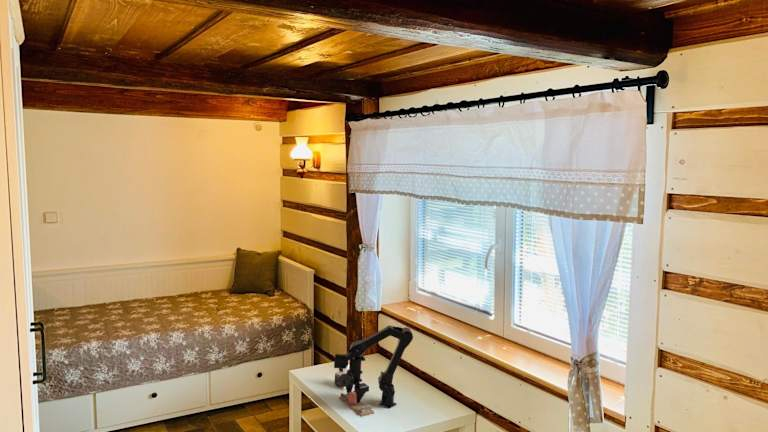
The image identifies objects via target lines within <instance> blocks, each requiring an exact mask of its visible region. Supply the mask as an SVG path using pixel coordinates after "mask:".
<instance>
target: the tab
mask: <svg viewBox="0 0 768 432" xmlns="http://www.w3.org/2000/svg"><path fill="white" fill-rule="evenodd" d="M354 391H355V390H352V392H349V394H348V395H347V393H343V394H344V397H346V398H347V399H348V401H349V402H350V403H355V402H357V399H356V393H355V392H354Z"/></svg>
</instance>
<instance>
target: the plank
mask: <svg viewBox="0 0 768 432" xmlns="http://www.w3.org/2000/svg"><path fill="white" fill-rule="evenodd" d="M344 394H345V393H341V392H340V396H338V399H339V400H340V401H342V402H343V404H345V405H346V406H347V407H349V409H351V410H353V412H355V413H356V414H357V415H358V416H360V417H365V416H370V414H371V415H374V414H375V411H374V410H373V409H372V405H371V404H368V405H367V404H365V403H364V402H362V400H361V401H360V402H359V403H357V402H355V403H350V402H349V401H348V399H347V398H346V397H344Z"/></svg>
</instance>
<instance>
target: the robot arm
mask: <svg viewBox="0 0 768 432" xmlns="http://www.w3.org/2000/svg"><path fill="white" fill-rule="evenodd" d="M389 337H393V338H395V339H398V340H397V344H396V347H395V349H394V352H393V354H392V356H391V358H390V360H389V363H388V365H387V367H386V369H385V370H384V372H383V371H381V372H380V375H379V376H378V377H377V381H378V387H379V390H380V391H381V392H382V394H381V402H379V403H378V406H381V407H384V408H388V409H391V408H392V407H394V406H396V405H397V403H396V402H394V401H395V394H396V391H395V385H394V383H393V379H394V374H395V372H396V370H397V368H398V366H399V363H400V361H401V359H402V356H403V354H404V353H405V350H406V348H407V347H409V345H410V344H411V343H412V341H413V339H414V334H413V332H412V329H411V328H409V327H408V326H407V327H400V326H393V325H387V326H386V327H384V328H383V329H381V330H379V331H377V332H374V333H373V334H371V335H369V336H368V337H366V338H364V339H359V340H356V341H353V342H352V343H351V344H350V348H349V349H348V350H347V351H346V353H335V354H334V365H333V369H339V368H345V369H346V368H347V366H348V364H349V370H347V373H346V374H342V375H341V376H340V377H339V378H338V382H339V385H341V386H342V387H346V389H345V390H346V394H347V395H348V394H349V392H352V391H354V392H355V393H356V399H357V403H359V402H360V401H361V402H362V400H363V397H364V396H365V394H366V393H368V392H369V391H370V386H369V385H368V384H366V382H363V378H361V376H362V375H361V374H363V372H364V371H363V370H362V362H365V361H366V356H364V353H365V352H366V351H367V350H368V349H369V348H371V347H372V346H374V345H376V344H377V343H379V342H381V341H383V340H384V339H386V338H389ZM353 389H354V390H353Z"/></svg>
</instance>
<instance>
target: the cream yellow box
mask: <svg viewBox="0 0 768 432" xmlns="http://www.w3.org/2000/svg"><path fill="white" fill-rule="evenodd" d="M349 364H350V363H348V366H347V368H346V369H345V368H338V371H336V372H335V373H334V386H335V388H338V389H341V390H343V391H344V390H346V387H342V386H341V385H339V382H338V378H339V377H340V376H341V375H342V374H346V373H347V370H349Z"/></svg>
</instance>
